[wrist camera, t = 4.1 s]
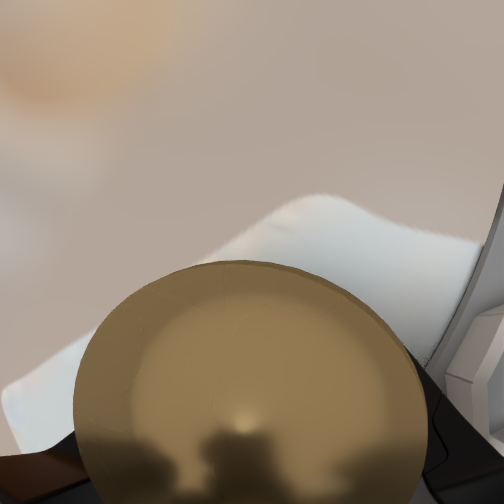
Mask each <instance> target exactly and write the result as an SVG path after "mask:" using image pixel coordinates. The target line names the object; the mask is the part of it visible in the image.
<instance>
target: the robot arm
mask: <svg viewBox="0 0 504 504" xmlns="http://www.w3.org/2000/svg"><path fill="white" fill-rule="evenodd" d="M401 343H402V342H401ZM402 344H403V343H402ZM403 346H404V345H403ZM404 347H405V346H404ZM405 349H406V351H407V353H408V355H409V356H410V358H411V360H412V362H413V364H414V366H415V368H416V370H417V373H418V376H419V379H420V382H421V384H422V387H423V391H424V396H425V401H426V407H427V415H428V440H427V451H426V457H425V463H424V468H423V471H422V474H421V477H420V480H419V483H418V485H417V488H416V490H415V492H414V494H413V496H412V498H411V500H410V501H409V503H408V504H504V457H503V456H502V455H501V454H500V453H499V452H498V451H497V450H496V449H495V448H494V447H493V446H492V445H491V444H490V443H489V442H488V441H487V440H486V439H485V438H484V437H483V436H482V435H481V434H480V433H479V432H478V431H477V430H476V429H475V428H474V427H473V426H472V425H471V424H470V423H469V422H468V421H467V420H466V419H465V417H464V416H463V415H462V414H461V413H460V412H459V411H458V410H457V408H456V407H455V406H454V405H453V404H452V402H451V401H450V400H449V399H448V397H447V396H446V395H445V394H444V393H443V394H442V390H441V389H440V388H439V386H438V385H437V384H436V383H435V382H434V380H433V379H432V378H431V377H430V376H429V374H428V373H427V372H426V371H425V370H424V368H423V367H422V366H421V365H420V364H419V362H418V361H417V360H416V359H415V358H414V356H413V355H412V354H411V353H410V352H409V351H408V349H407V348H406V347H405ZM0 504H105V502H104V501H103V499H102V498H101V496H100V495H99V493H98V492H97V490H96V488H95V487H94V485H93V483H92V481H91V479H90V477H89V475H88V473H87V471H86V469H85V466H84V463H83V460H82V458H81V455H80V452H79V448H78V444H77V440H76V435H75V430H74V431H73V432H72V433H70V434H69V435H68V436H67V437H65V438H64V439H63V440H61V441H60V442H59V443H57V444H56V445H55V446H53V447H51V448H49V449H47V450H45V451H41V452H36V453H29V454H20V455H11V456H1V457H0Z"/></svg>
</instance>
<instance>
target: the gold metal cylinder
mask: <svg viewBox="0 0 504 504" xmlns="http://www.w3.org/2000/svg"><path fill="white" fill-rule="evenodd" d="M73 419H74V428H75V435H76V440H77V444H78V448H79V452H80V455H81V458H82V460H83V463H84V466H85V469H86V471H87V473H88V475H89V477H90V479H91V481H92V483H93V485H94V487H95V488H96V490H97V492H98V493H99V495H100V496H101V498H102V499H103V501H104V502H105V504H408V503H409V501H410V500H411V498H412V496H413V494H414V492H415V490H416V488H417V485H418V483H419V480H420V477H421V474H422V471H423V468H424V463H425V457H426V451H427V440H428V415H427V407H426V401H425V396H424V391H423V387H422V384H421V382H420V379H419V376H418V373H417V370H416V368H415V366H414V364H413V362H412V360H411V358H410V356H409V355H408V353H407V351H406V349H405V347H404V346H403V344H402V343H401V341H400V340H399V339H398V338H397V336H396V335H395V334H394V332H393V331H392V330H391V329H390V327H389V326H388V325H387V324H386V323H385V322H384V321H383V320H382V319H381V318H380V317H379V316H378V315H377V314H376V313H375V312H374V311H373V310H372V309H371V308H370V307H369V306H367V305H366V304H365V303H363V302H362V301H360V300H359V299H358V298H356V297H355V296H353V295H352V294H351V293H349V292H348V291H346V290H345V289H343V288H341V287H339V286H337V285H335V284H333V283H331V282H329V281H328V280H326V279H324V278H322V277H319V276H316V275H313V274H311V273H308V272H305V271H303V270H300V269H297V268H293V267H288V266H284V265H280V264H275V263H270V262H260V261H249V260H236V261H218V262H212V263H206V264H200V265H195V266H192V267H189V268H186V269H183V270H179V271H176V272H173V273H171V274H169V275H167V276H165V277H162V278H160V279H158V280H156V281H154V282H152V283H150V284H148V285H146V286H144V287H142V288H141V289H139V290H138V291H136V292H135V293H133V294H132V295H130V296H129V297H127V298H126V299H125V300H124V301H123V302H122V303H120V304H119V305H118V306H117V307H116V308H115V309H114V310H113V311H112V312H111V313H110V314H109V315H108V316H107V318H106V319H105V320H104V321H103V322H102V324H101V325H100V326H99V327H98V329H97V330H96V332H95V334H94V335H93V337H92V339H91V340H90V342H89V344H88V346H87V348H86V350H85V353H84V355H83V357H82V360H81V362H80V366H79V369H78V373H77V377H76V382H75V388H74V396H73Z"/></svg>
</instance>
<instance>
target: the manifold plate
mask: <svg viewBox="0 0 504 504" xmlns="http://www.w3.org/2000/svg"><path fill="white" fill-rule="evenodd" d="M425 371H426V372H427V373H428V374H429V376H430V377H431V378H432V379H433V380H434V382H435V383H436V384H437V385H438V386H439V388H440V389H441V390H442V394H443V393H444V394H445V395H446V396H447V397H448V399H449V400H450V401H451V402H452V404H453V405H454V406H455V407H456V408H457V410H458V411H459V412H460V413H461V414H462V415H463V416H464V417H465V419H466V420H467V421H468V422H469V423H470V424H471V425H472V426H473V427H474V428H475V429H476V430H477V431H478V432H479V433H480V434H481V435H482V436H483V437H484V438H485V439H486V440H487V441H488V442H489V443H490V444H491V445H492V446H493V447H494V448H495V449H496V450H497V451H498V452H499V453H500V454H501V455H502V456H503V457H504V185H503V189H502V193H501V197H500V200H499V203H498V207H497V210H496V213H495V217H494V220H493V223H492V226H491V229H490V232H489V235H488V238H487V240H486V243H485V246H484V249H483V251H482V254H481V257H480V259H479V262H478V264H477V267H476V269H475V272H474V274H473V276H472V279H471V281H470V283H469V286H468V288H467V290H466V292H465V295H464V297H463V299H462V301H461V303H460V305H459V307H458V310H457V312H456V314H455V316H454V318H453V320H452V322H451V324H450V326H449V327H448V329H447V331H446V333H445V335H444V337H443V339H442V341H441V342H440V344H439V346H438V348H437V350H436V351H435V353H434V355H433V357H432V358H431V360H430V362H429V363H428V365H427V367H426V368H425Z"/></svg>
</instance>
